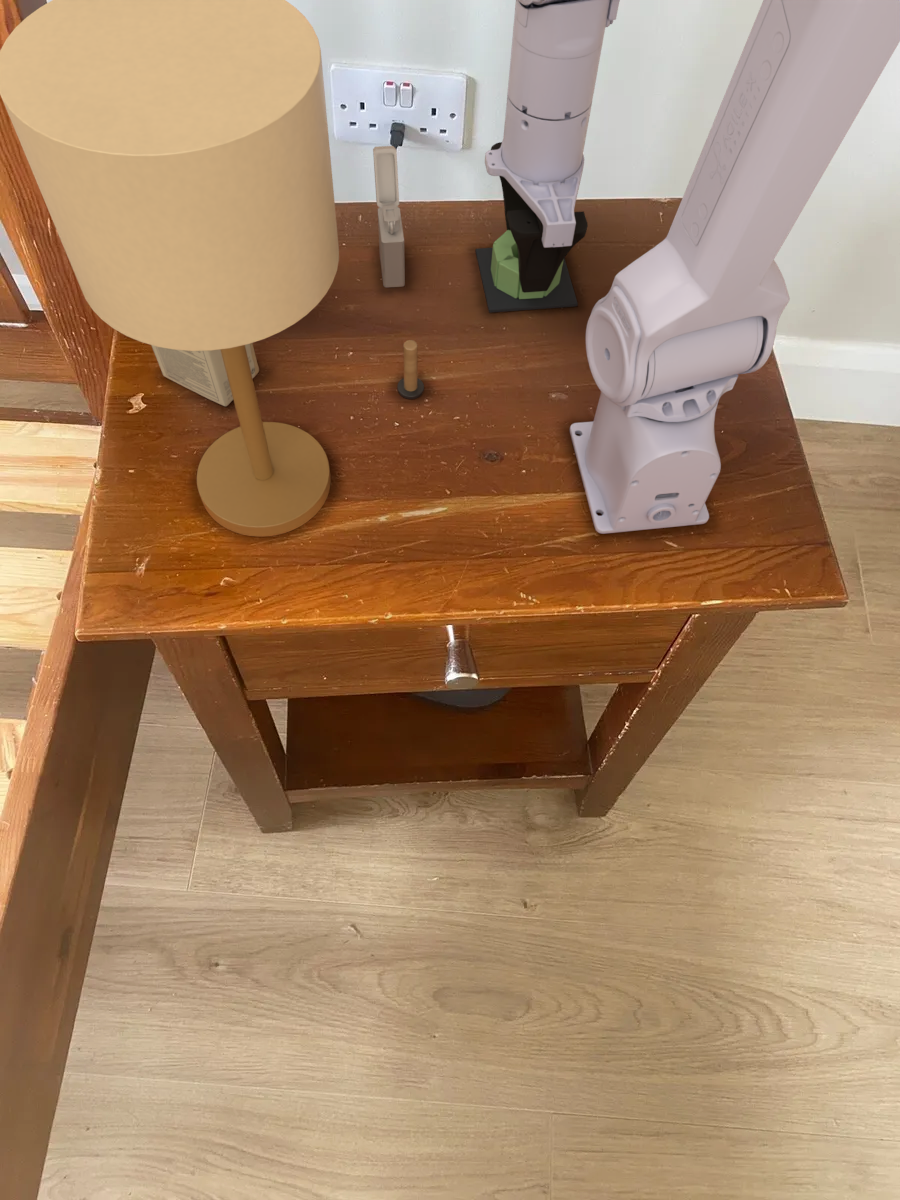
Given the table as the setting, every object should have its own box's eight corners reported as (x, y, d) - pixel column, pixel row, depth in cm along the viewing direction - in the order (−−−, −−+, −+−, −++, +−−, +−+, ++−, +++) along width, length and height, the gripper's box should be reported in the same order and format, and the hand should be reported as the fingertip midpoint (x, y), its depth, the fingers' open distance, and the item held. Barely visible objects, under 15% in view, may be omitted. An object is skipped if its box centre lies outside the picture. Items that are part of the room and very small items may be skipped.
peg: (425, 398, 66) (426, 353, 62) (398, 400, 66) (397, 356, 62) (422, 378, 67) (422, 333, 63) (396, 380, 66) (394, 335, 63)
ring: (564, 296, 71) (568, 271, 69) (497, 301, 70) (500, 276, 68) (551, 251, 74) (555, 225, 71) (487, 255, 73) (489, 229, 71)
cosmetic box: (261, 372, 66) (232, 235, 56) (225, 411, 64) (187, 276, 54) (194, 339, 68) (153, 199, 57) (156, 376, 66) (107, 238, 55)
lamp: (367, 552, 59) (331, 145, 34) (169, 571, 58) (-24, 164, 32) (351, 404, 65) (311, -34, 40) (171, 418, 64) (12, -24, 39)
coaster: (577, 306, 71) (577, 303, 71) (488, 312, 70) (489, 310, 70) (559, 245, 74) (560, 242, 74) (475, 251, 74) (475, 248, 73)
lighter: (404, 286, 71) (403, 198, 64) (383, 287, 71) (380, 199, 64) (397, 227, 75) (395, 138, 68) (376, 228, 75) (372, 139, 68)
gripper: (474, 36, 62) (465, 206, 74) (509, 167, 55) (492, 330, 67) (572, 32, 63) (547, 201, 75) (619, 160, 56) (583, 324, 68)
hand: (527, 262), depth 71 cm, fingers closed on ring, 5 cm apart
